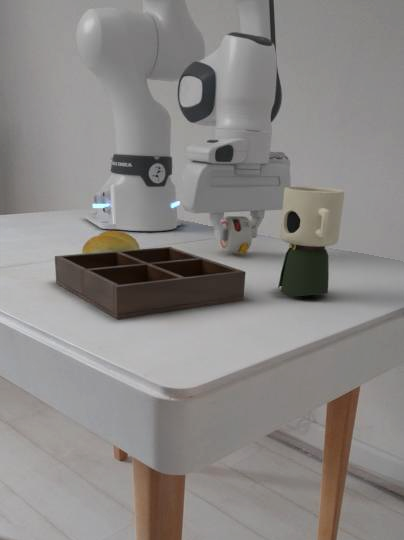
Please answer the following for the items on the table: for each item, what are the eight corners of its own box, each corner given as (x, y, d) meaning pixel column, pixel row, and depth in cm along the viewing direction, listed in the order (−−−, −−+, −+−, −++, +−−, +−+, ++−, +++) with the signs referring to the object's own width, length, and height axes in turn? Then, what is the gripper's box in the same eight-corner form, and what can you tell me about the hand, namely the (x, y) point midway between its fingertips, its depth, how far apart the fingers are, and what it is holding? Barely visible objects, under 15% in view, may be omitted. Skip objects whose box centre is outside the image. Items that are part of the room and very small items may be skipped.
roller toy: (240, 247, 98) (243, 213, 96) (255, 255, 92) (258, 219, 90) (216, 248, 97) (219, 213, 94) (229, 256, 91) (232, 219, 89)
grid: (55, 283, 72) (54, 255, 71) (169, 270, 81) (170, 246, 80) (116, 319, 59) (116, 287, 58) (243, 300, 68) (245, 271, 67)
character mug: (264, 284, 76) (273, 184, 72) (314, 284, 78) (326, 186, 73) (287, 307, 66) (299, 192, 62) (345, 306, 68) (361, 194, 63)
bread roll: (75, 261, 85) (74, 234, 83) (99, 251, 93) (98, 226, 91) (126, 266, 83) (126, 239, 81) (147, 255, 91) (147, 230, 89)
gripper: (277, 150, 97) (269, 232, 102) (177, 147, 85) (174, 239, 91) (303, 153, 92) (294, 238, 97) (200, 150, 81) (196, 246, 86)
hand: (235, 238), depth 94 cm, fingers closed on roller toy, 5 cm apart
